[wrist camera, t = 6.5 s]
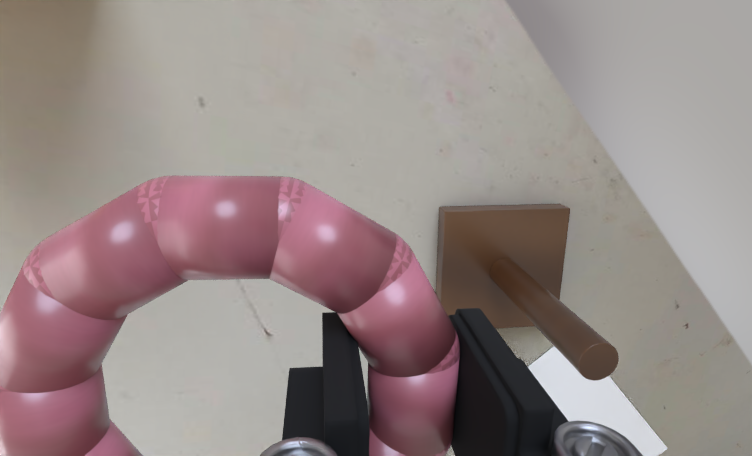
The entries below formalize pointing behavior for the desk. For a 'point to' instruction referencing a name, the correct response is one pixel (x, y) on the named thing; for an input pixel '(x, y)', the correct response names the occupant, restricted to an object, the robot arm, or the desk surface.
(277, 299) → the desk surface
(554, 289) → the stand
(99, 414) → the pink segmented ring
